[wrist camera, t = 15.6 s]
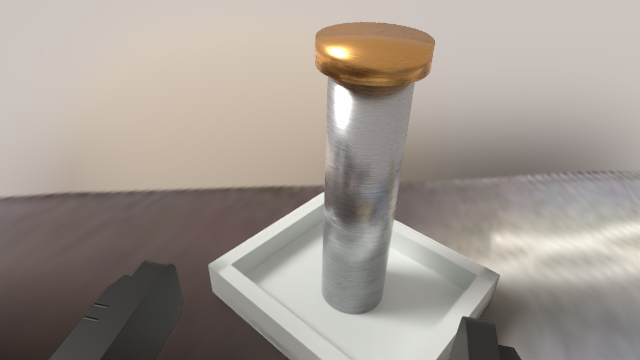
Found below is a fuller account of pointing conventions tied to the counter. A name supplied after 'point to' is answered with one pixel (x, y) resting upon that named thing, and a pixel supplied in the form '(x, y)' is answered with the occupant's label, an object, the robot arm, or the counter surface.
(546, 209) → the counter surface
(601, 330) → the counter surface
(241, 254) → the tray
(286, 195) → the counter surface
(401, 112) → the pin
